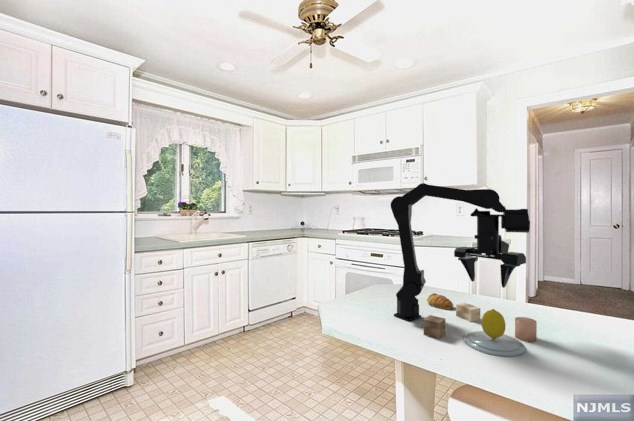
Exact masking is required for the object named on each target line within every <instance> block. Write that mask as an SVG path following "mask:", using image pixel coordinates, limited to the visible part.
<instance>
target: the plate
mask: <svg viewBox="0 0 634 421" xmlns="http://www.w3.org/2000/svg"><path fill="white" fill-rule="evenodd" d="M463 340H464V341H463V342H464V343H465V344H466V345H467V346H468V347H470V348H471V349H473V350H475V351H478V352H480V353H483V354H487V355H491V356H498V357H507V358H509V357H518V356H521V355H523V354H524V353H525V352H526V346H525V344H524V343H522V342H521V340H519V339H517V338H514V337H513V336H510V335H507V334H505V333H504V334H503V335H502V336H501V337H498V338H496V339H492V338H491V337H490V336H488V335H487V334H486V333H485V332H484V331H483V330H476V331H472V332H468V333H466V334H465V335H464V339H463Z"/></svg>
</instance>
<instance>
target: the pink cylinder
mask: <svg viewBox="0 0 634 421" xmlns="http://www.w3.org/2000/svg"><path fill="white" fill-rule="evenodd" d="M537 324H538V322H537V320H535V319H533V318H530V317H526V316H518V317H514V337H515V339H516V340H518V341H523V342H527V343H535V342H537V337H538V336H537V335H538V334H537V332H538V329H537V328H538V327H537V326H538V325H537Z"/></svg>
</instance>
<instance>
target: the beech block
mask: <svg viewBox="0 0 634 421" xmlns="http://www.w3.org/2000/svg"><path fill="white" fill-rule="evenodd" d="M455 316H456V318H457V317H458V318H461V319H463V320H466V321H468V322H470V323H472V322H473V323H474V322H478V321H481V307H478V306H475V305H472V304H469V303H466V302H462V303H456V305H455ZM477 320H478V321H477Z"/></svg>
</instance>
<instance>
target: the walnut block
mask: <svg viewBox="0 0 634 421" xmlns="http://www.w3.org/2000/svg"><path fill="white" fill-rule="evenodd" d="M423 335H424V336H428V337H431V338H434V339H437V340H440V339H441V338H442V337H444V336H445V335H446V318H444V317H440V316H436V315H432V314H431V315H427V316H426V317H425V318H423Z"/></svg>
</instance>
